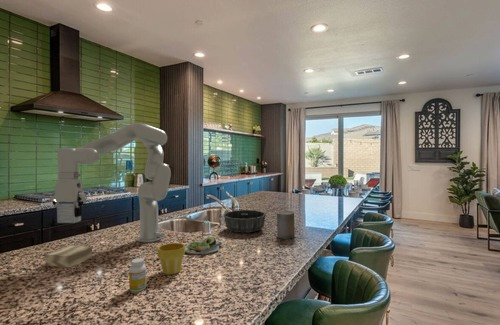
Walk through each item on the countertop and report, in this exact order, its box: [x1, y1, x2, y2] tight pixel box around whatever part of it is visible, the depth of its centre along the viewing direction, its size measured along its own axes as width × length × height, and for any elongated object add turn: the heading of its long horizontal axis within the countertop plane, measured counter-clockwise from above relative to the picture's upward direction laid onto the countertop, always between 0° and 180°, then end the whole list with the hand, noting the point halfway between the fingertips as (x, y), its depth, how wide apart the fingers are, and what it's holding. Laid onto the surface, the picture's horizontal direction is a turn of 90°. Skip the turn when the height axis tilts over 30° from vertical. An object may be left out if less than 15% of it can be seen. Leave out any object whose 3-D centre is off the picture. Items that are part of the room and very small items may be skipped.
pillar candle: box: [276, 210, 296, 240], centre depth 156 cm, size 10×10×15 cm
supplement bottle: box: [128, 257, 147, 293], centre depth 95 cm, size 5×5×10 cm
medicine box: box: [56, 202, 82, 224], centre depth 121 cm, size 8×4×9 cm, turn 84°
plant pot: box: [157, 242, 186, 275], centre depth 109 cm, size 10×10×10 cm
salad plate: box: [185, 236, 223, 256], centre depth 135 cm, size 19×18×5 cm
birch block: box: [45, 245, 93, 269], centre depth 121 cm, size 12×12×5 cm
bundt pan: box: [223, 209, 267, 234], centre depth 173 cm, size 26×26×10 cm
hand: (68, 216), depth 121 cm, fingers closed on medicine box, 8 cm apart
